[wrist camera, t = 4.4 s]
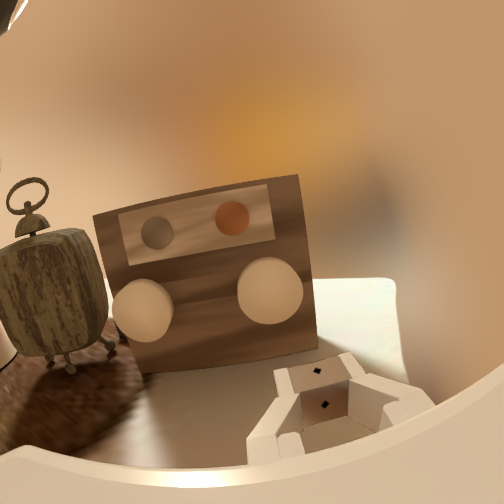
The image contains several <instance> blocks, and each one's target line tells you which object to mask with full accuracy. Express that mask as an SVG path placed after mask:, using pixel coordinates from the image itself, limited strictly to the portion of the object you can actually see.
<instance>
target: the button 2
mask: <svg viewBox="0 0 504 504" xmlns="http://www.w3.org/2000/svg"><path fill="white" fill-rule="evenodd" d="M237 290H238V301H239V305H240V307H241V309H242V311H243V312H244V313H245V315H246V316H248V317H249V318H250V319H252V320H253V321H255V322H258V323H262V324H276V323H280V322H283V321H285V320H287V319H288V318H290V317H291V316H292V315H293V314H294V313H295V312H296V311H297V309H298V308H299V306H300V304H301V302H302V298H303V286H302V282H301V280H300V278H299V276H298V275H297V273H296V272H295V271H294V270H293V268H292V267H291V266H290V265H289V264H288V263H287V262H285V261H283V260H281V259H279V258H275V257H263V258H259V259H256V260H254V261H252V262H251V263H249V264H248V265H247V266H246V267H245V268H244V269H243V271H242V272H241V274H240V276H239V279H238V284H237Z"/></svg>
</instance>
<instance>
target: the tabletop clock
mask: <svg viewBox="0 0 504 504" xmlns="http://www.w3.org/2000/svg"><path fill="white" fill-rule="evenodd" d="M33 182H36V183H40V184H42V185H43V186H44V187H45V190H46V193H45V196H44V197H43V199H42V200H41V201H39V202H38V203H37V204H35V205H33V206H31V202H30V201H26V202H25V203H24V209H22V210H14V209H12V208H10V205H9V200H10V197H11V195H12V194H13V192H14V191H15V190H16V189H18V188H19V187H21V186H23V185H26V184H29V183H33ZM48 194H49V188H48V185H47V183H46V182H45V181H44V180H42V179H41V178H35V177H32V178H27V179H25V180H22V181H20V182H18V183H17V184H15V185H14V186H13V188H12V189H11V190H10V192H9V193H8V195H7V200H6V205H7V209H8V210H9V211H10V212H11V213H12V214H15V215H24V214H25V215H26V216H25V217H24V218H22V219H21V220H20V221H19V223H18V224H17V226H16V230H15V238H16V237H20V236H24V235H27V234H30V237H29V238H25V239H21V240H19V241H17V242H15V243H13V244H11V245H8V246H6V247H4V248H2V249H0V320H1V322H2V324H3V327H4V329H5V331H6V333H7V336H8V338H9V339H10V341H11V343H12V345H13V346H14V348H15V349H16V350H17V351H18V353H19V354H21V355H24V356H29V357H34V356H45V359H46V360H47V361H49V362H52V361H53V360H54V355H62V354H63V355H64V358H65V360H66V362H67V365H66V367H65V369H66V372H67V373H68V374H69V375H74V374H76V371H77V369H76V367H75V365H74V364H72V363H71V362H70V359H69V355H68V353H69V352H73V351H77V350H80V349H84V348H87V347H89V346H91V345H92V344H94V343H95V342H96V341H97V340H98V341H100V342H102V343H104V344H105V348H106V349H107V350H108V351H112V350H114V349H115V343H114V342H113V341H112V340H107V341H106V340H105V339H104V338H102V337H101V336H100V335H101V333H102V330H103V328H104V325H105V323H106V320H107V318H108V308H109V306H108V298H107V292H106V288H105V283H104V279H103V274H102V271H101V268H100V265H99V262H98V259H97V256H96V253H95V250H94V247H93V245H92V243H91V240H90V238H89V237H88V235H87V234H86V232H85V231H84V230H82V229H77V228H67V229H61V230H57V231H52V232H47V233H43V234H39V235H36V233H35V232H37V231H40V230H43V229H46V228H48V227H50V225H49V223H48V221H47V220H46V219H45V218H44V217H43V216H42V215H40V214H33V213H32V212H33V211H35V210H37V209H38V208H39V207H41V206H42V205H43V204H44V203H45V201H46V199H47V197H48Z"/></svg>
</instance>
